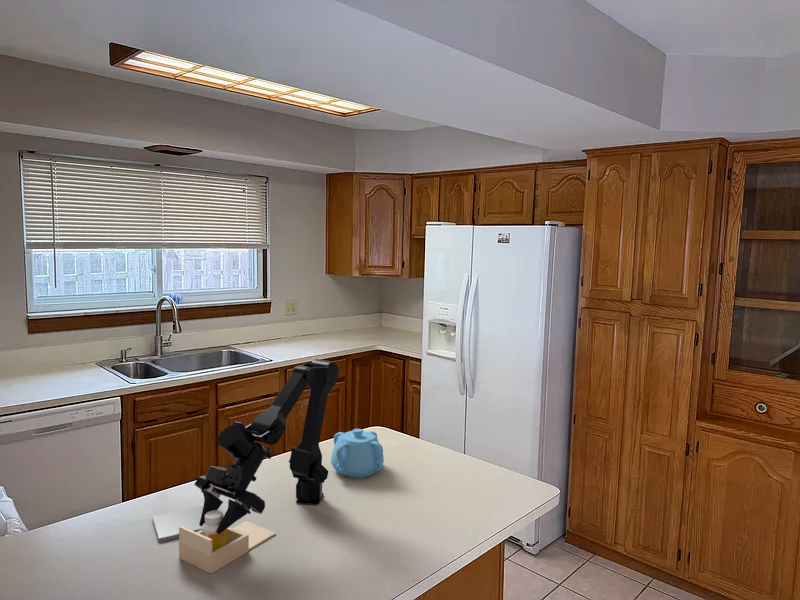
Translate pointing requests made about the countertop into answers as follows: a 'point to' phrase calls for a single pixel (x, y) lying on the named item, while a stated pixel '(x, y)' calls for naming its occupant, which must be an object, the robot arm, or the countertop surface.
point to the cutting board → (177, 523)
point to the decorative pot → (357, 453)
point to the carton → (238, 543)
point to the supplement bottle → (214, 529)
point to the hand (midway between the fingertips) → (209, 529)
